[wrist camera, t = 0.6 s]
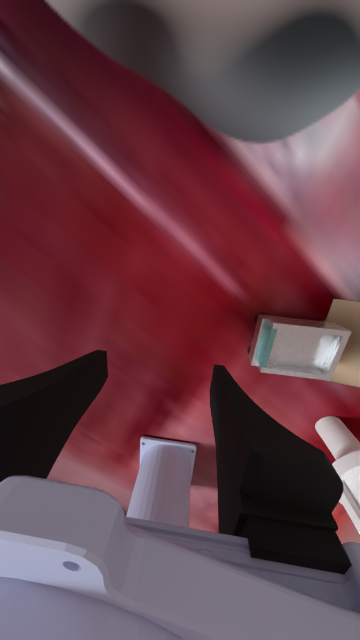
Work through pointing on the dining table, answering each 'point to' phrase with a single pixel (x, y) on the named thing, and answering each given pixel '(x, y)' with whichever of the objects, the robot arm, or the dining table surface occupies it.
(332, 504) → the robot arm
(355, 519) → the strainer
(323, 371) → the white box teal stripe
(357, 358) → the dock
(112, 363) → the dining table surface
